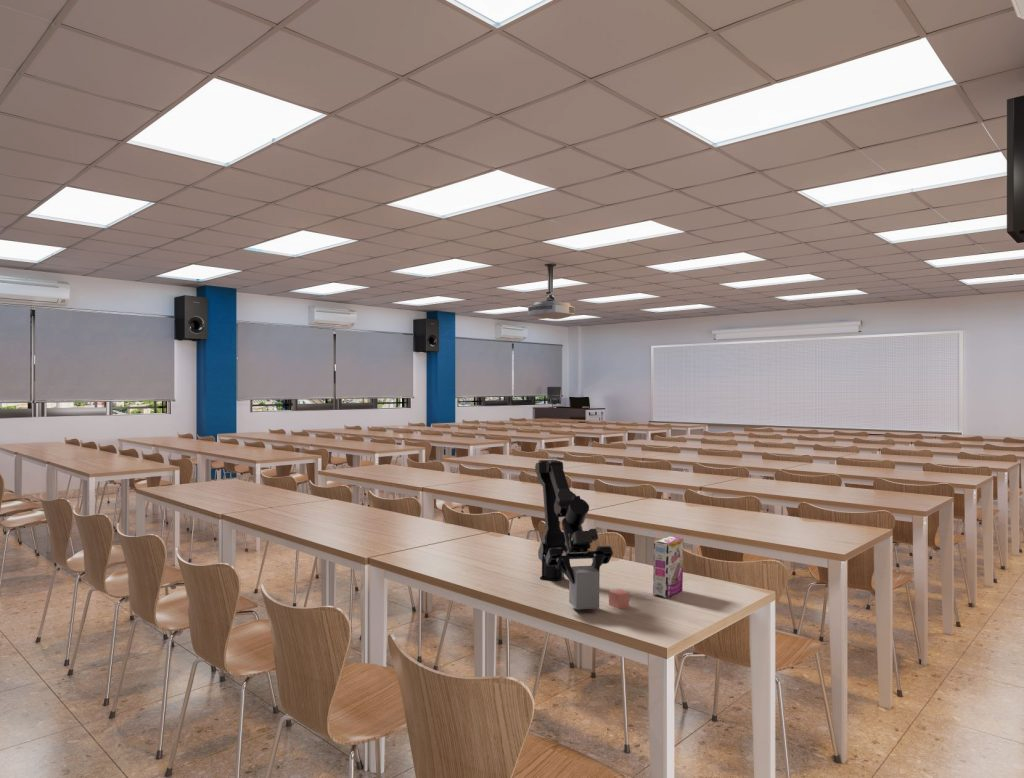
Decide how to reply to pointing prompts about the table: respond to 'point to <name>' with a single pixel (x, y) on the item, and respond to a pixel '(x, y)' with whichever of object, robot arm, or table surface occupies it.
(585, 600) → the grey upright block
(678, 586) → the candy bar box
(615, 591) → the red block
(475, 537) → the table surface
